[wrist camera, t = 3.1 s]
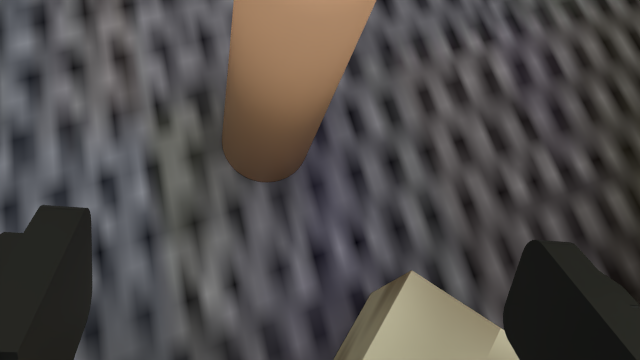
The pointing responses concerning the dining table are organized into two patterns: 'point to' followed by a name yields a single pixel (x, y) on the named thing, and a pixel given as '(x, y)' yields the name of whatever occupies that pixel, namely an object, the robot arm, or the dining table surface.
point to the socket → (421, 327)
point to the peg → (284, 78)
